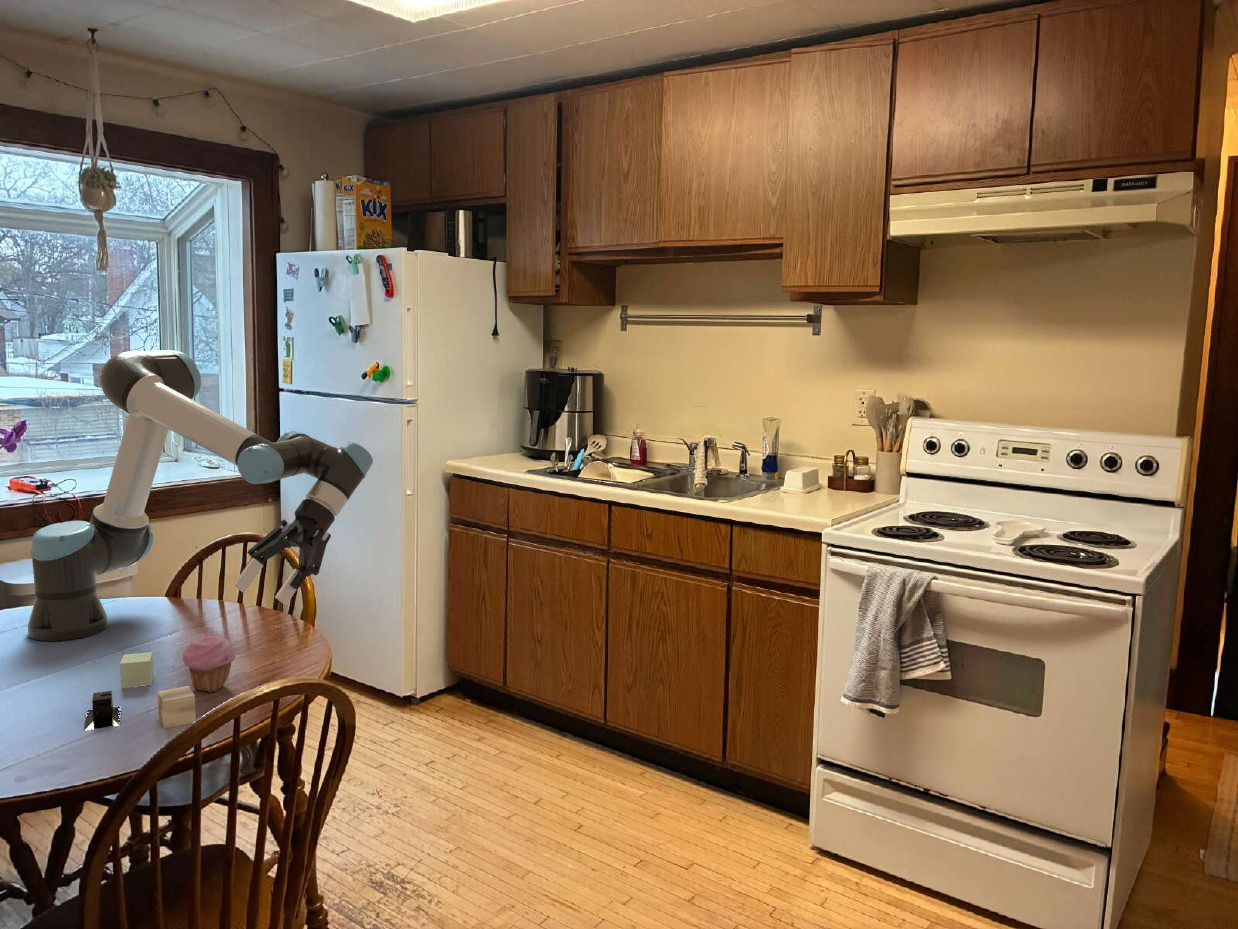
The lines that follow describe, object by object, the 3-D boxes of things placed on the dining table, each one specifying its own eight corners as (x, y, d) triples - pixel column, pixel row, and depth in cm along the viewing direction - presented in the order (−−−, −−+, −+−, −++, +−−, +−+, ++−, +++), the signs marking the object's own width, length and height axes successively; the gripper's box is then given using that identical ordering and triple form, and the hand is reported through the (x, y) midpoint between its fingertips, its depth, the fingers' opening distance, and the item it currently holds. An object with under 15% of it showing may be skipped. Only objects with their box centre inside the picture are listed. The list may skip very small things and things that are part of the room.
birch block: (159, 718, 163) (157, 691, 162) (189, 712, 166) (188, 685, 165) (164, 729, 159) (162, 701, 158) (195, 722, 162) (194, 695, 161)
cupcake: (174, 693, 174) (172, 641, 172) (208, 676, 182) (206, 627, 180) (213, 700, 171) (211, 647, 170) (246, 683, 179) (244, 633, 178)
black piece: (125, 732, 159) (124, 706, 158) (76, 739, 156) (74, 713, 155) (127, 703, 170) (125, 679, 169) (81, 710, 166) (79, 685, 166)
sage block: (125, 679, 180) (123, 654, 179) (154, 676, 181) (152, 652, 181) (121, 689, 175) (119, 663, 174) (150, 686, 177) (149, 661, 176)
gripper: (371, 526, 188) (311, 616, 178) (294, 511, 202) (234, 593, 192) (349, 504, 183) (286, 596, 173) (271, 490, 197) (209, 574, 187)
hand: (258, 595), depth 183 cm, fingers open, 13 cm apart
